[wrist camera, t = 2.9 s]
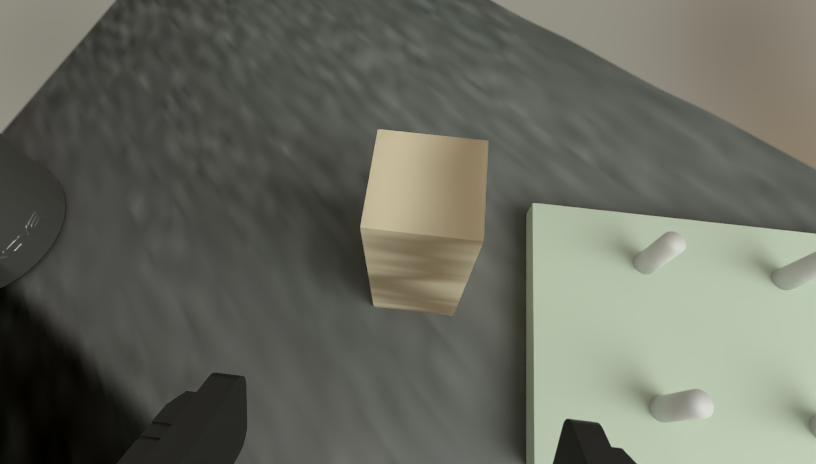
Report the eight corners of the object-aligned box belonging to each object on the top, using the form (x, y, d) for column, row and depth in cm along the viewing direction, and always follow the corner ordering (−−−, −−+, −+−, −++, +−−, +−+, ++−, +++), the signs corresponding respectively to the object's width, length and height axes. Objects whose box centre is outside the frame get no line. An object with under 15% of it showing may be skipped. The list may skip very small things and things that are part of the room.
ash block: (373, 306, 25) (360, 227, 16) (384, 234, 27) (378, 129, 18) (452, 315, 25) (483, 241, 16) (458, 243, 27) (488, 140, 18)
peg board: (526, 465, 22) (555, 469, 18) (526, 214, 28) (547, 175, 24) (948, 519, 21) (1078, 536, 17) (854, 250, 27) (933, 216, 23)
